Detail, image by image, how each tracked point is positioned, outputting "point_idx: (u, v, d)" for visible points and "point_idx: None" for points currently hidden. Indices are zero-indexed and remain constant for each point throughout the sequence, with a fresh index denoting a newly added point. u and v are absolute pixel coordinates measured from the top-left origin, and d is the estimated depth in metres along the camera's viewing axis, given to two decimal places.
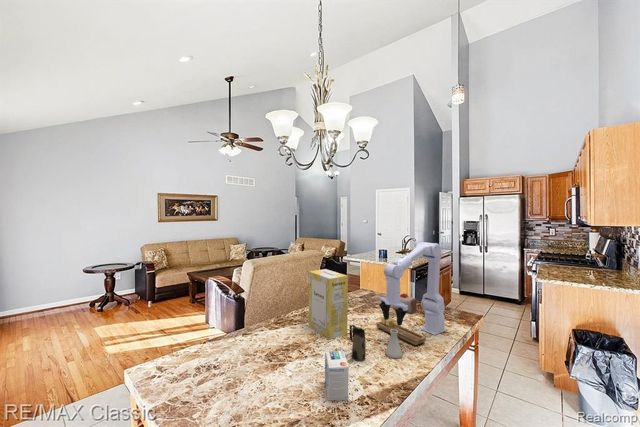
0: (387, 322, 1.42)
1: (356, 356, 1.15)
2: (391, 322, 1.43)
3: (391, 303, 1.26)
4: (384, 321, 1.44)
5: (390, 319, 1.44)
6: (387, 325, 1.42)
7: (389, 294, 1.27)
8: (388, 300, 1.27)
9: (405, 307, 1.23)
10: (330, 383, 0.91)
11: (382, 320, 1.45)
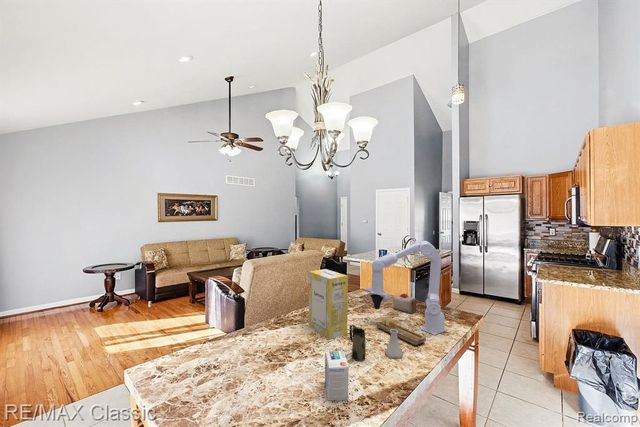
0: (387, 322, 1.42)
1: (356, 356, 1.15)
2: (391, 322, 1.43)
3: (375, 292, 1.48)
4: (384, 321, 1.44)
5: (390, 319, 1.44)
6: (387, 325, 1.42)
7: (374, 285, 1.48)
8: (373, 290, 1.49)
9: (387, 295, 1.44)
10: (330, 383, 0.91)
11: (382, 320, 1.45)
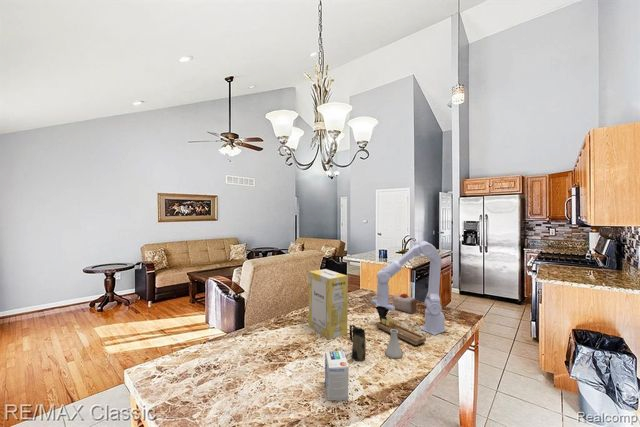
0: (387, 322, 1.42)
1: (356, 356, 1.15)
2: (392, 322, 1.42)
3: (381, 304, 1.45)
4: (384, 321, 1.44)
5: (390, 319, 1.44)
6: (387, 325, 1.42)
7: (379, 297, 1.45)
8: (378, 302, 1.46)
9: (393, 308, 1.41)
10: (330, 383, 0.91)
11: (382, 320, 1.45)
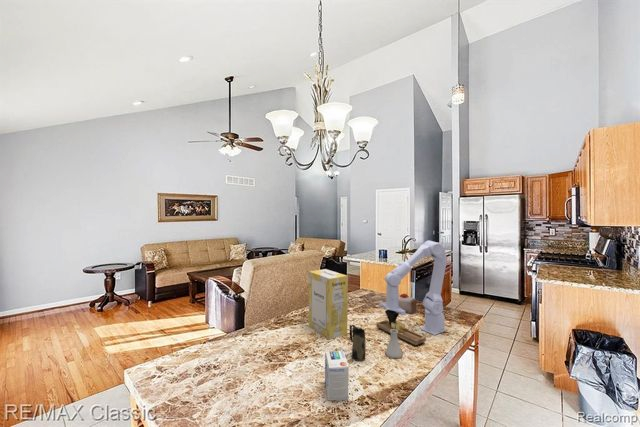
0: (397, 327, 1.37)
1: (356, 356, 1.15)
2: (402, 327, 1.37)
3: (390, 308, 1.40)
4: (394, 325, 1.38)
5: (400, 324, 1.38)
6: (397, 330, 1.37)
7: (389, 300, 1.40)
8: (388, 305, 1.41)
9: (403, 312, 1.36)
10: (330, 383, 0.91)
11: (392, 324, 1.40)
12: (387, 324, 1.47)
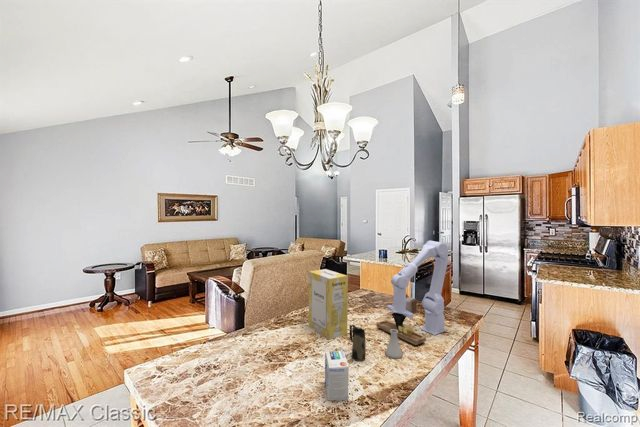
0: (405, 330, 1.33)
1: (356, 356, 1.15)
2: (410, 330, 1.33)
3: (398, 311, 1.36)
4: (402, 328, 1.34)
5: (408, 327, 1.35)
6: (405, 333, 1.33)
7: (396, 303, 1.36)
8: (395, 308, 1.37)
9: (411, 315, 1.32)
10: (330, 383, 0.91)
11: (399, 328, 1.36)
12: (387, 324, 1.47)
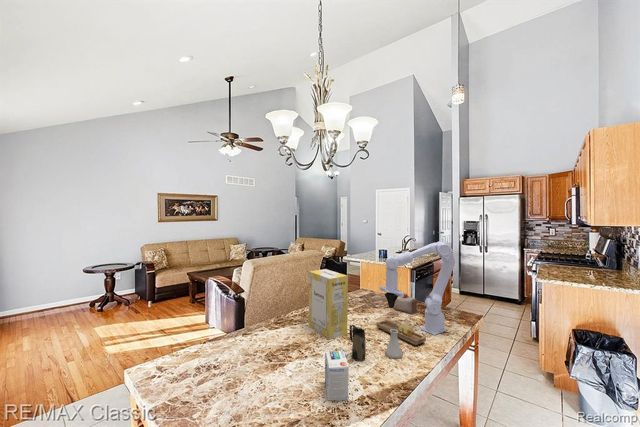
0: (405, 330, 1.33)
1: (356, 356, 1.15)
2: (410, 330, 1.33)
3: (390, 291, 1.45)
4: (402, 329, 1.34)
5: (408, 327, 1.35)
6: (405, 333, 1.33)
7: (388, 283, 1.46)
8: (387, 288, 1.46)
9: (402, 294, 1.42)
10: (330, 383, 0.91)
11: (399, 328, 1.36)
12: (387, 324, 1.47)
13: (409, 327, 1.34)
